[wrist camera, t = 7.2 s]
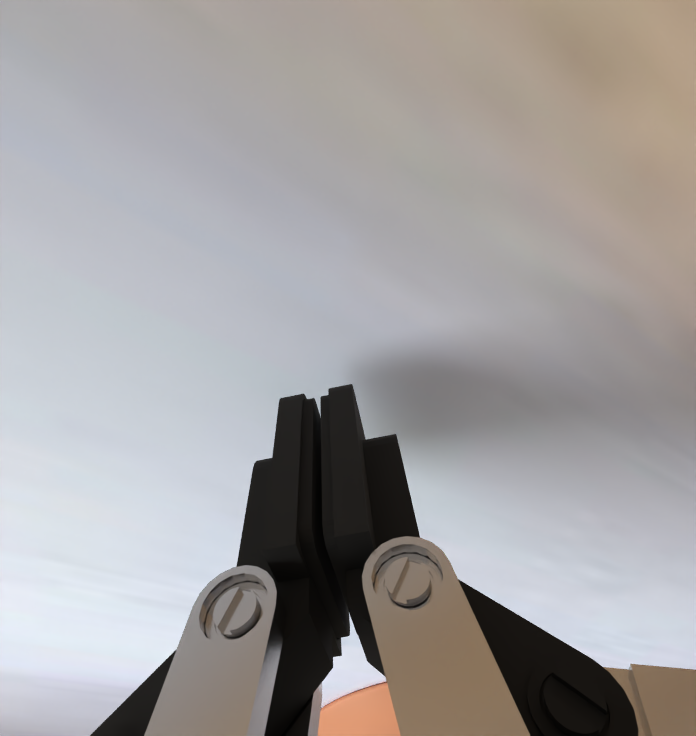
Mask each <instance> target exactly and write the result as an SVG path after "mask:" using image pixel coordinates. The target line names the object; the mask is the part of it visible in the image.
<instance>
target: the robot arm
mask: <svg viewBox="0 0 696 736" xmlns="http://www.w3.org/2000/svg"><path fill="white" fill-rule="evenodd" d="M349 613H350V616H351V619H352V621H353V624H354V627H355V630H356V632H357V635H358V636H359V639H360V642H361V644H362V647H363V650H364V653H365V656H366V658H367V661H368V662H369V663H370V664H371V665H372V666H373V667H375V668H376V669H377V670H378V671H379V672H381V673H382V674H383V675H384V676H385V677H386V680H387V684H388V688H389V692H390V696H391V700H392V704H393V708H394V711H395V715H396V719H397V723H398V727H399V731H400V735H401V736H696V670H692V669H681V668H670V667H659V666H648V665H637V664H630V668H629V670H628V669H617V668H606V667H602V666H601V665H599V664H598V663H597V662H595V661H594V660H593V659H591V658H589V657H588V656H586V655H584V654H583V653H581V652H579V651H578V650H576V649H574V648H573V647H571V646H569V645H568V644H566V643H564V642H563V641H561V640H559V639H558V638H556V637H554V636H552V635H551V634H549V633H547V632H546V631H544V630H542V629H541V628H539V627H537V626H536V625H534V624H532V623H531V622H529V621H527V620H526V619H524V618H522V617H521V616H519V615H517V614H516V613H514V612H512V611H510V610H509V609H507V608H505V607H504V606H502V605H500V604H499V603H497V602H495V601H494V600H492V599H490V598H489V597H487V596H485V595H484V594H482V593H480V592H479V591H477V590H475V589H473V588H472V587H470V586H468V585H467V584H465V583H463V582H462V581H460V580H458V579H457V576H456V574H455V572H454V570H453V568H452V566H451V563H450V561H449V560H448V558H447V557H446V555H445V554H444V552H443V551H442V550H441V549H440V548H438V547H437V546H436V545H435V544H433V543H432V542H430V541H427V540H425V539H422V538H420V536H419V531H418V527H417V523H416V518H415V514H414V510H413V505H412V501H411V497H410V492H409V488H408V484H407V479H406V475H405V471H404V466H403V462H402V458H401V453H400V449H399V445H398V440H397V436H396V434H393V435H388V436H383V437H378V438H373V439H368V440H366V439H365V435H364V431H363V427H362V422H361V418H360V414H359V410H358V405H357V401H356V397H355V393H354V389H353V385H352V384H350V385H345V386H340V387H335V388H330V389H329V395H327V396H322V397H321V418H320V414H319V411H318V408H317V404H316V401H315V399H314V398H312V399H306V396H305V395H304V394H300V395H295V396H290V397H285V398H281V399H280V400H279V407H278V416H277V424H276V432H275V441H274V449H273V458H269V459H264V460H259V461H256V462H255V464H254V467H253V472H252V478H251V484H250V490H249V496H248V502H247V508H246V514H245V520H244V526H243V532H242V538H241V544H240V550H239V556H238V562H237V567H233V568H231V569H229V570H227V571H225V572H223V573H221V574H219V575H218V576H217V577H216V578H214V579H213V580H212V581H210V582H209V583H208V584H207V586H206V587H205V588H204V589H203V590H202V592H201V593H200V594H199V596H198V598H197V600H196V602H195V604H194V605H193V608H192V610H191V613H190V616H189V618H188V621H187V624H186V626H185V629H184V631H183V634H182V637H181V639H180V642H179V645H178V647H177V649H176V650H175V651H174V652H173V653H172V654H171V655H170V656H169V657H168V658H167V659H166V660H165V661H164V662H163V663H162V664H161V665H160V666H159V667H158V668H157V669H156V670H155V671H154V672H153V673H152V674H151V675H150V676H149V677H148V678H147V679H146V680H145V681H144V682H143V683H142V684H141V685H140V686H139V687H138V688H137V689H136V690H135V691H134V692H133V693H132V694H131V695H130V696H129V697H128V698H127V699H126V700H125V701H124V702H123V703H122V704H121V705H120V706H119V707H118V708H117V709H116V710H115V711H114V712H113V713H112V714H111V715H110V716H109V717H108V718H107V719H106V720H105V721H104V722H103V723H102V724H101V725H100V726H99V727H98V728H97V729H96V730H95V731H94V732H93V733H92V734H91V735H90V736H318V727H319V719H320V710H321V701H322V681H323V680H324V679H325V677H326V676H327V675H328V673H329V672H330V671H331V669H332V668H333V657H336V656H342V653H341V637H346V636H349V635H350V623H349Z"/></svg>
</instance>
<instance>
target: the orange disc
mask: <svg viewBox="0 0 696 736" xmlns="http://www.w3.org/2000/svg"><path fill="white" fill-rule="evenodd" d="M318 736H401V735H400V731H399V727H398V723H397V719H396V715H395V711H394V708H393V704H392V700H391V696H390V692H389V688H388V684H387V682H386V683H382V684H378V685H375V686H371V687H368V688H365V689H362V690H359V691H356V692H353V693H351V694H348V695H346V696H344V697H341V698H339V699H337V700H335V701H334V702H332V703H330V704H328V705H326V706H325V707H323V708H322V709H321V710H320V719H319V727H318Z"/></svg>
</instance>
